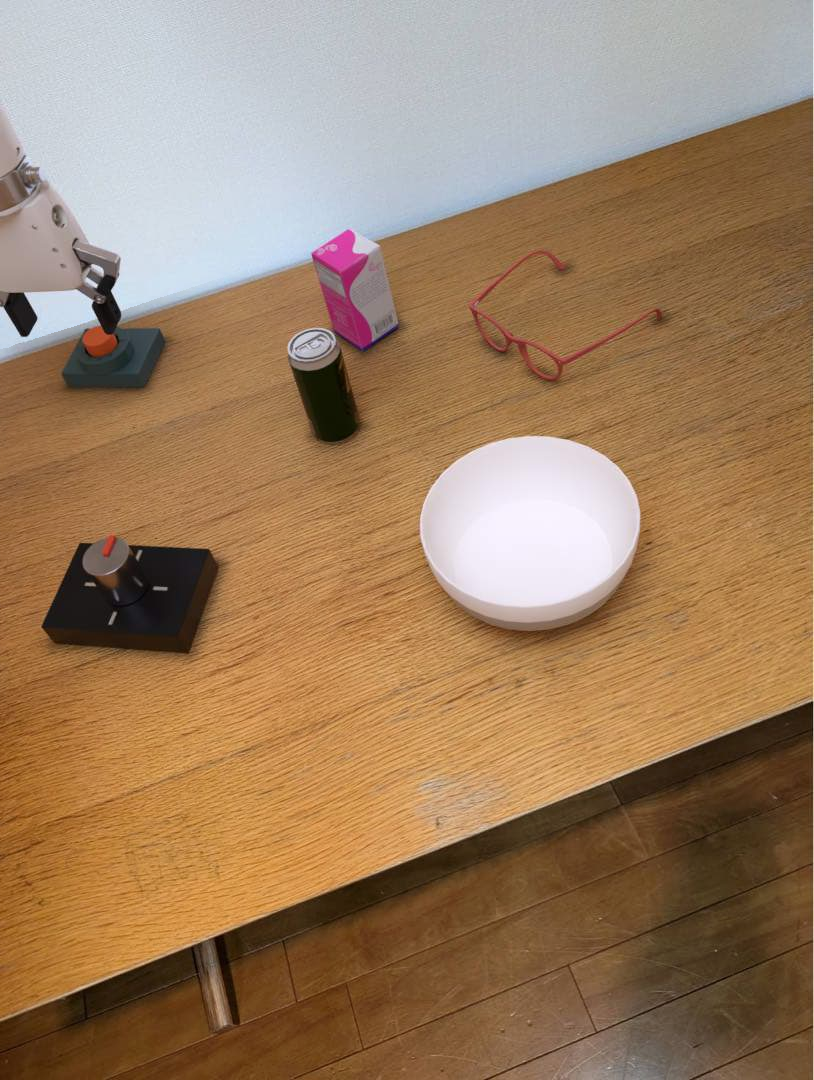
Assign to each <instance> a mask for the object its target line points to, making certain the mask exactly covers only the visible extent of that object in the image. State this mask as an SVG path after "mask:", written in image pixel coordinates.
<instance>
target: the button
mask: <svg viewBox="0 0 814 1080" xmlns="http://www.w3.org/2000/svg"><path fill="white" fill-rule="evenodd" d="M88 329H89V330H88V331H87V332H86V333H85V334H84V335H83V338H82V341H83V344H84V345H85V347H86V349H87V351H88V353H89V354H90V355H91V356H93V357H101V356H104V355H107V354H109V353H111V352H112V351H113V350H114V349H115V348H116V347H117V343H118V342H117V339H116V337H115V335H114V333H113V334H112V335H107V334H106V333H105V332H104V331H103V329H102V327H101V325H96V326H93V327H91V328H88Z"/></svg>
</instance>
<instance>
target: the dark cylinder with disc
mask: <svg viewBox="0 0 814 1080" xmlns="http://www.w3.org/2000/svg"><path fill="white" fill-rule="evenodd" d="M93 543H94V544H93V545H91V546H90V547H89V548H88V550H87V551H86V552H85V554H84V557H83V567H84V569H85V571H86V572H87V574H88V575H89V576H90V578H91V579H92V581H93V582H94V584H95V585H96V587H97V588H98V589H99V591H100V592H101V594H102V595H103V597H104V598H105V599H106V601H107V602H108V603H110V604H112V605H116V606H124V605H128V604H131V603H133V602H135V601H136V600H138V599H139V598H140V597H141V596H142V595H143V594H144V593H145V591H146V589H147V586H148V577H147V575H146V573H145V572H144V570H143V568H142V567H141V565H140V564H139V562H138V560H137V559H136V557H135V555H134V554H133V552H132V551H131V549H130V547H129V546H128V545H129V544H128V543H127V542H126V540H124V539H122V538H120V537H117V535H114V534H110V535H108V536H107V537H104V538H101V539H99V540H97V541H96V542H93Z"/></svg>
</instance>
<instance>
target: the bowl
mask: <svg viewBox="0 0 814 1080" xmlns="http://www.w3.org/2000/svg"><path fill="white" fill-rule="evenodd" d="M421 507H422V508H421V513H420V517H419V539H420V542H421V546H422V549H423V553H424V555H425V558H426V561H427V564H428V566H429V569H430V570H431V573H432V574H433V576H434V578H435V579H436V581H437V583H438V584H439V585H440V587H441V588H442V589H443V591H444V592H445V593H446V594H447V596H448V597H449V598H450V599H451V600H452V601H453V602H454V603H455V604H456V605H457V607H458V608H459V609H461V610H462V611H464V612H465V613H466V614H468V615H470V616H471V617H472V618H474V619H477V620H478V621H481V622H484V623H486V624H487V625H490V626H494V627H497V628H501V629H506V630H510V631H511V630H512V631H525V632H535V631H547V630H552V629H556V628H559V627H561V628H562V627H564V626H568V625H570V624H573V623H576V622H578V621H579V620H582V619H584V618H586V617H588V616H590V615H591V614H593V613H594V612H595V611H597V610H598V609H600V608H601V607H603V606H604V605H605V604H606V603H607V602H608V601H609V599H610V598H612V597H613V595H614V594H615V593H616V592H617V590H618V589H619V587H620V586H621V584H622V583H623V581H624V580H625V577H626V576H627V573H628V571H629V569H630V568H631V566H632V564H633V561H634V558H635V555H636V552H637V549H638V545H639V539H640V533H641V519H642V514H641V513H642V512H641V507H640V503H639V498H638V495H637V493H636V491H635V489H634V487H633V484H632V483H631V481H630V480H629V478H628V477H627V476H626V474H625V473H624V472H623V471H622V470H621V468H620V467H619V466H618V465H617V464H615V463H614V462H613V461H612V460H611V459H610V458H608V457H607V456H605V455H604V454H603V453H600V452H599V451H597V450H595V449H594V448H591V447H589V446H587V445H585V444H582V443H579V442H577V441H573V440H570V439H567V438H560V437H554V436H545V435H544V436H541V435H540V436H539V435H525V436H517V437H509V438H505V439H501V440H498V441H493V442H490V443H487V444H485V445H483V446H480V447H478V448H476V449H473V450H471V451H469V452H468V453H467V454H465V455H463V456H461V457H460V458H458V459H457V460H455V461H454V462H453V463H452V464H450V465H449V466H448V467H447V468H446V469H445V470H444V471H443V472H442V473H441V474H440V475H439V477H438V478H437V479H436V481H435V482H434V483H433V485H432V486H431V487H430V489H429V491H428V493H427V495H426V497H425V499H424V501H423V504H422V506H421Z"/></svg>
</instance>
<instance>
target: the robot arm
mask: <svg viewBox="0 0 814 1080" xmlns="http://www.w3.org/2000/svg"><path fill="white" fill-rule="evenodd" d="M47 176H48V175H47V172H46V170H45V168H44V167H43V166H36V165H33V164H32V160H31V159H30V157H29V155H28V154H27V153H26V151H25V149H24V147H23V145H22V143H21V141H20V139H19V137H18V134H17V132H16V130H15V129H14V126H13V125H12V123H11V121H10V118H9V116H8V114H7V112H6V110H5V108H4V106H3V104H2V102H1V101H0V308H3V309H4V311H5V313H6V314H7V316H8V318H9V320H10V321H11V322H12V324H13V325H14V327H15V329H16V330H17V333H18V334H19V336H20V337H21V338H27V337H28V336H30V334H31V332H32V330H33V328H34V327H35V325H36V323H37V321H38V318H39V317H38V315H37V313H36V312H35V309H34V308H33V307H32V304H31V303H30V301H29V299H28V298H27V295H26V294H25V293H48V292H50V293H51V292H67V291H68V292H69V291H75V290H77V291H78V292H80V293H81V294H82V295H84V296H86V297H87V298H88V299H90V300H91V301H92V302H91V309H92V312H93V313H94V315H95V316H96V318H97V320H98V323H99V324H100V325H99V326H101V327H102V329H103V331H104V332H105V333H106V334H107V335H112V334H113V333H114V331H115V329H116V326H118V325H119V322H120V320H121V318H122V311H121V309H120V306H119V304H118V303H117V300H116V298H115V296H114V294H113V292H112V290H113V289H114V288H115V285H116V283H117V281H118V278H119V277H120V269H121V262H122V261H121V259H122V258H121V256H120V254H118V253H116V252H113V251H111V250H107V249H105V248H102V247H99V246H96V245H93V244H90V242H89V240H88V238H87V236H86V234H85V233H84V231H83V229H82V227H81V226H80V223H79V222H78V220H77V219H76V216H75V215H74V214H73V212H72V211H71V209H70V208H69V206H68V205H67V203H66V202H65V200H64V199H63V197H62V196H61V195H60V193H58V190H56V189H55V187H54V186H53V185H52V184H51V183H50V181H49V180H48V179H47ZM92 265H95V266H97V267H100V268H101V269H102V270H103V273H102V272H101V271H100V270H98V269H97V268H96V267H94V266H92ZM87 279H89V280H90V281H92V282H93V283H94V284H96V287H95V286H94V285H93V284H91V283H89V282H88V281H86V280H87Z"/></svg>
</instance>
